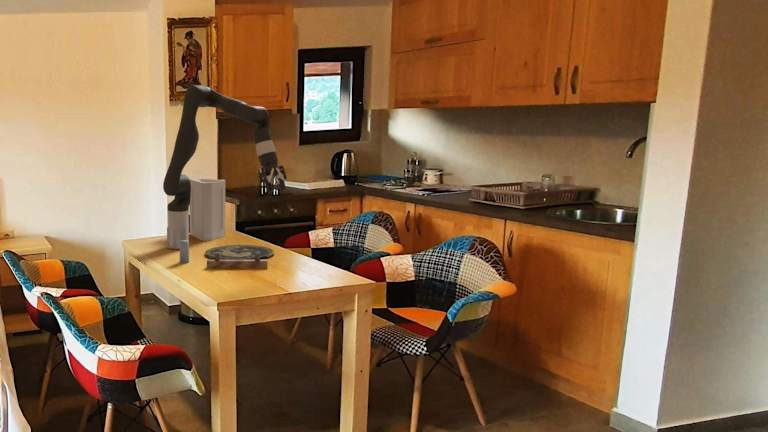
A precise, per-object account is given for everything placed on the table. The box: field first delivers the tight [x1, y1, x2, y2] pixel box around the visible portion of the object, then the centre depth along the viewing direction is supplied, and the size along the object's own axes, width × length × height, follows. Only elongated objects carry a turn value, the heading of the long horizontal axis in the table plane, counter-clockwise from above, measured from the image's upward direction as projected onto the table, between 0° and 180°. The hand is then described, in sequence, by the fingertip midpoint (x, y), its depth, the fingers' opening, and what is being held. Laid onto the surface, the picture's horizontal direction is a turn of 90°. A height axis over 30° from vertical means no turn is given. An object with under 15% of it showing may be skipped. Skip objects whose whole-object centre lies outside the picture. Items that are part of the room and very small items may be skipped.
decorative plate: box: [204, 244, 275, 260], centre depth 302 cm, size 30×2×30 cm
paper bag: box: [189, 178, 226, 242], centre depth 339 cm, size 19×15×28 cm
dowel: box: [179, 240, 190, 264], centre depth 283 cm, size 4×4×9 cm
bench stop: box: [206, 253, 268, 269], centre depth 278 cm, size 24×3×6 cm, turn 100°
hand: (277, 191), depth 281 cm, fingers open, 8 cm apart
